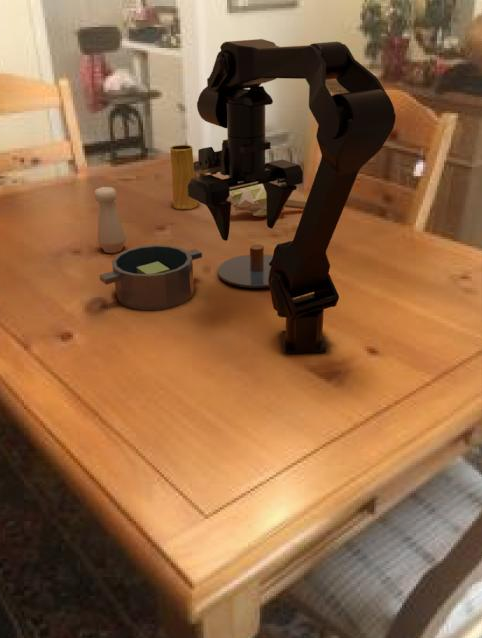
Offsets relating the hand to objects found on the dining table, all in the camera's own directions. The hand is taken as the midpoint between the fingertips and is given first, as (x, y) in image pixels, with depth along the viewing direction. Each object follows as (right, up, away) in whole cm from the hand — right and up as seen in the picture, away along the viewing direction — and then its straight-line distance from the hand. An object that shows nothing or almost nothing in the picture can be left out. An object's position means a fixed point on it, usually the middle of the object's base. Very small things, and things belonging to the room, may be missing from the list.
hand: (248, 233), depth 102 cm
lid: (+2, -3, +18) cm, 18 cm away
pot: (-17, -8, +12) cm, 22 cm away
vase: (-16, +19, +54) cm, 59 cm away
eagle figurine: (-13, +30, +71) cm, 78 cm away
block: (-17, -8, +11) cm, 22 cm away
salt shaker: (-29, +3, +30) cm, 42 cm away
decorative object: (+6, +15, +48) cm, 50 cm away
